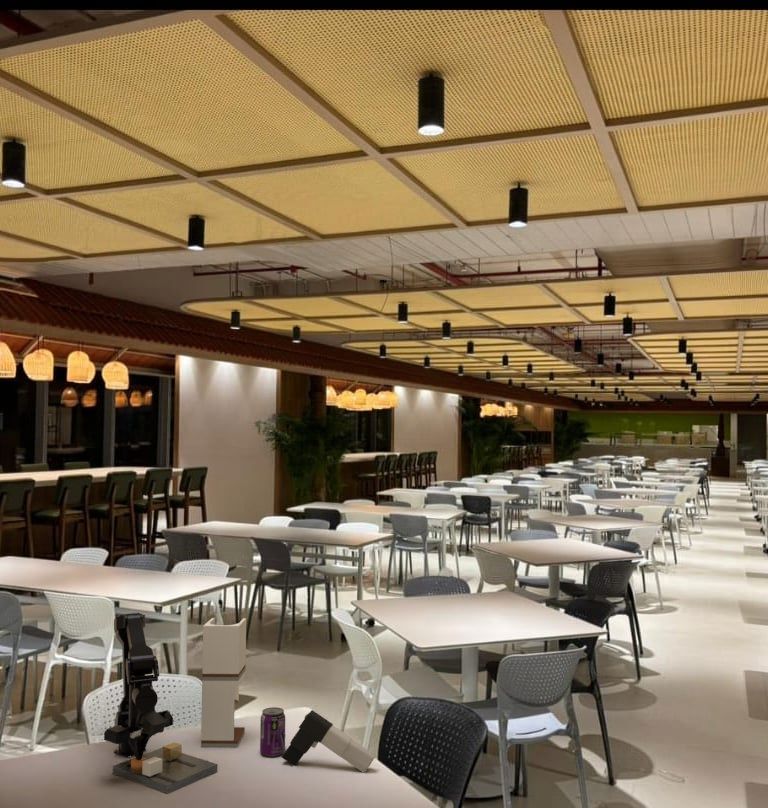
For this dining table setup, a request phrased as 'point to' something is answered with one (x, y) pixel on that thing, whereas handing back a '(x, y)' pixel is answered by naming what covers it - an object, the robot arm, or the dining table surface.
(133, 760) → the orange push button
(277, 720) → the beverage can
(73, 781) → the dining table surface
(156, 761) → the beige block
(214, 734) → the beige tower stand
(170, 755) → the tan block
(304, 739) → the handheld device
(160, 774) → the plate
